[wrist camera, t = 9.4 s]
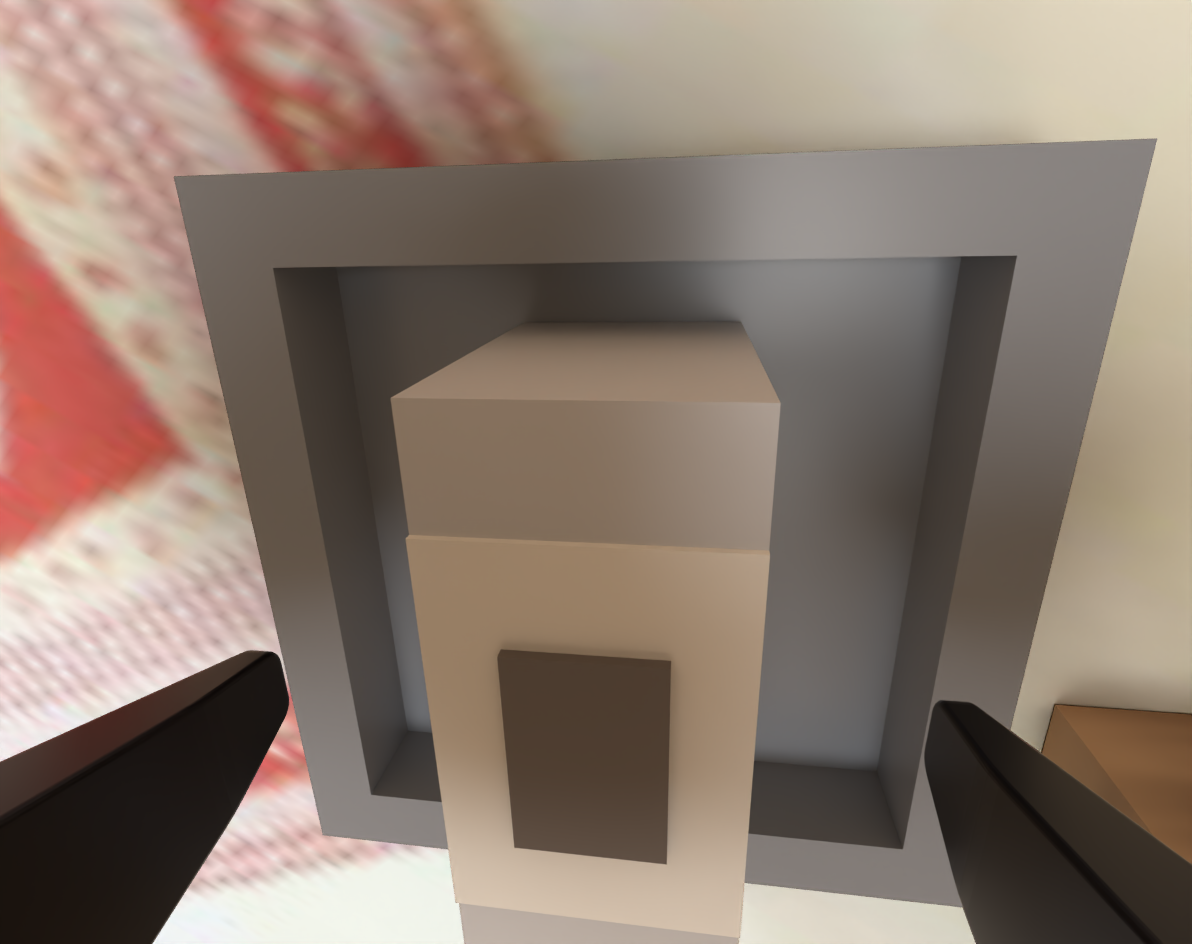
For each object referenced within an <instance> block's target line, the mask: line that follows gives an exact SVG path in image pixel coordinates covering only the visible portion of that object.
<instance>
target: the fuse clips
mask: <svg viewBox="0 0 1192 944" xmlns="http://www.w3.org/2000/svg"><path fill="white" fill-rule="evenodd" d="M1042 754H1043V755H1044V756H1046V757H1047V758H1048V759H1050V760H1051V761H1053V762H1054V763H1055V764H1057V765H1058V766H1059V767H1061V768H1062V769H1063V770H1065V771H1066V772H1068V773H1069V774H1070V775H1072V776H1073V777H1074V778H1076V779H1077V780H1078V781H1080V782H1081V783H1082V784H1084V785H1085V786H1087V787H1088V788H1089V789H1091V790H1092V791H1093V792H1095V793H1096V794H1097V795H1099V796H1100V797H1102V798H1103V799H1104V800H1106V801H1107V802H1108V803H1110V804H1111V805H1112V806H1114V807H1115V808H1116V809H1118V810H1119V811H1121V812H1122V813H1123V814H1125V815H1126V816H1127V817H1129V818H1130V819H1131V820H1133V821H1134V822H1136V823H1137V824H1138V825H1140V826H1141V827H1142V828H1144V829H1145V830H1146V831H1148V832H1149V833H1150V834H1152V835H1153V836H1155V837H1156V838H1157V839H1159V840H1160V841H1161V842H1163V843H1164V844H1165V845H1167V846H1168V847H1170V848H1171V849H1172V850H1174V851H1175V852H1176V853H1178V854H1179V855H1180V856H1182V857H1183V858H1184V859H1186V860H1187V861H1189V862H1190V863H1191V864H1192V715H1191V714H1177V713H1163V712H1149V711H1135V710H1121V709H1107V708H1093V707H1079V706H1065V705H1055V707H1054V711H1053V714H1052V718H1051V722H1050V725H1049V729H1048V733H1047V736H1046V740H1045V744H1044V747H1043V751H1042Z"/></svg>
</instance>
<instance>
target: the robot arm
mask: <svg viewBox="0 0 1192 944" xmlns="http://www.w3.org/2000/svg"><path fill="white" fill-rule="evenodd" d="M288 706H289V696H288V691H287V687H286V682H285V678H284V674H283V669H282V665H281V661H280V658H279V657H278V655H277V654H275V653H273V652H268V651H254V650H250V651H245V652H243V653H240V654H238V655H236V656H234V657H231V658H229V659H227V660H225V661H223V662H220V663H218V664H216V665H214V666H212V667H209V668H207V669H205V670H203V671H200V672H198V673H196V674H194V675H192V676H189V677H187V678H185V679H183V680H181V681H178V682H176V683H174V684H172V685H169V686H167V687H165V688H163V689H161V690H158V691H156V692H154V693H152V694H150V695H147V696H145V697H143V698H141V699H138V700H136V701H134V702H132V703H130V704H127V705H125V706H123V707H121V708H119V709H116V710H114V711H112V712H110V713H107V714H105V715H103V716H101V717H99V718H96V719H94V720H92V721H90V722H88V723H85V724H83V725H81V726H79V727H76V728H74V729H72V730H70V731H68V732H65V733H63V734H61V735H59V736H57V737H54V738H52V739H50V740H48V741H45V742H43V743H41V744H39V745H37V746H34V747H32V748H30V749H28V750H26V751H23V752H21V753H19V754H17V755H14V756H12V757H10V758H8V759H6V760H3V761H1V762H0V944H153V942H154V940H155V939H156V937H157V936H158V934H159V933H160V931H161V929H162V928H163V926H164V925H165V923H166V922H167V920H168V918H169V917H170V915H171V914H172V912H173V911H174V909H175V907H176V906H177V904H178V903H179V901H180V900H181V898H182V897H183V895H184V893H185V892H186V890H187V889H188V887H189V886H190V884H191V882H192V881H193V879H194V878H195V876H196V875H197V873H198V871H199V870H200V868H201V867H202V865H203V864H204V862H205V860H206V859H207V857H208V856H209V854H210V853H211V851H212V850H213V848H214V846H215V845H216V843H217V842H218V840H219V839H220V837H221V835H222V834H223V832H224V831H225V829H226V827H227V826H228V824H229V822H230V821H231V819H232V817H233V816H234V814H235V812H236V810H237V809H238V807H239V805H240V803H241V801H242V800H243V798H244V796H245V794H246V792H247V790H248V788H249V786H250V784H251V782H252V780H253V778H254V777H255V775H256V773H257V771H258V769H259V767H260V765H261V763H262V761H263V759H264V757H265V755H266V753H267V751H268V749H269V748H270V746H271V744H272V742H273V740H274V738H275V736H276V734H277V732H278V730H279V728H280V726H281V724H282V722H283V721H284V719H285V716H286V714H287V711H288ZM924 763H925V770H926V774H927V778H928V782H929V786H930V790H931V793H932V797H933V801H934V805H935V809H936V813H937V817H938V820H939V824H940V828H941V832H942V836H943V840H944V844H945V847H946V851H947V855H948V859H949V863H950V867H951V871H952V874H953V878H954V881H955V885H956V888H957V892H958V895H959V898H960V901H961V904H962V907H963V910H964V913H965V915H966V918H967V921H968V924H969V926H970V929H971V932H972V934H973V937H974V940H975V942H976V944H1192V864H1191V863H1190V862H1189V861H1187V860H1186V859H1184V858H1183V857H1182V856H1180V855H1179V854H1178V853H1176V852H1175V851H1174V850H1172V849H1171V848H1170V847H1168V846H1167V845H1165V844H1164V843H1163V842H1161V841H1160V840H1159V839H1157V838H1156V837H1155V836H1153V835H1152V834H1150V833H1149V832H1148V831H1146V830H1145V829H1144V828H1142V827H1141V826H1140V825H1138V824H1137V823H1136V822H1134V821H1133V820H1131V819H1130V818H1129V817H1127V816H1126V815H1125V814H1123V813H1122V812H1121V811H1119V810H1118V809H1116V808H1115V807H1114V806H1112V805H1111V804H1110V803H1108V802H1107V801H1106V800H1104V799H1103V798H1102V797H1100V796H1099V795H1097V794H1096V793H1095V792H1093V791H1092V790H1091V789H1089V788H1088V787H1087V786H1085V785H1084V784H1082V783H1081V782H1080V781H1078V780H1077V779H1076V778H1074V777H1073V776H1072V775H1070V774H1069V773H1068V772H1066V771H1065V770H1063V769H1062V768H1061V767H1059V766H1058V765H1057V764H1055V763H1054V762H1053V761H1051V760H1050V759H1048V758H1047V757H1046V756H1044V755H1043V754H1042V753H1040V752H1039V751H1038V750H1036V749H1035V748H1034V747H1032V746H1031V745H1029V744H1028V743H1027V742H1025V741H1024V740H1023V739H1021V738H1020V737H1019V736H1017V735H1016V734H1015V733H1013V732H1012V731H1010V730H1009V729H1008V728H1006V727H1005V726H1004V725H1002V724H1001V723H1000V722H998V721H997V720H995V719H994V718H993V717H991V716H990V715H989V714H987V713H986V712H985V711H983V710H982V709H981V708H979V707H978V706H976V705H975V704H973V703H970V702H963V701H949V700H940V701H938V702H936V703H935V705H934V707H933V710H932V714H931V719H930V725H929V730H928V735H927V740H926V745H925V751H924Z"/></svg>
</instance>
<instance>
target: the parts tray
mask: <svg viewBox="0 0 1192 944" xmlns="http://www.w3.org/2000/svg"><path fill="white" fill-rule="evenodd" d="M1156 141H1157V139H1133V140H1107V141H1081V142H1055V143H1029V144H1003V145H977V146H951V147H925V148H899V149H873V150H847V151H822V152H796V153H770V154H744V155H718V156H692V157H666V158H640V159H614V160H588V161H562V162H536V163H510V164H484V165H459V166H433V167H407V168H381V169H355V170H329V171H303V172H277V173H251V174H225V175H199V176H174V180H175V184H176V188H177V193H178V197H179V202H180V206H181V211H182V215H183V219H184V224H185V228H186V233H187V237H188V241H189V246H190V250H191V255H192V259H193V264H194V268H195V272H196V277H197V281H198V286H199V290H200V294H201V299H202V303H203V308H204V312H205V316H206V321H207V325H208V330H209V334H210V339H211V343H212V347H213V352H214V356H215V361H216V365H217V369H218V374H219V378H220V383H221V387H222V392H223V396H224V400H225V405H226V409H227V414H228V418H229V422H230V427H231V431H232V436H233V440H234V445H235V449H236V453H237V458H238V462H239V467H240V471H241V475H242V480H243V484H244V489H245V493H246V498H247V502H248V506H249V511H250V515H251V520H252V524H253V528H254V533H255V537H256V542H257V546H258V550H259V555H260V559H261V564H262V568H263V573H264V577H265V581H266V586H267V590H268V595H269V599H270V603H271V608H272V612H273V617H274V621H275V626H276V630H277V634H278V639H279V643H280V648H281V652H282V656H283V661H284V665H285V670H286V674H287V679H288V683H289V687H290V692H291V696H292V701H293V705H294V709H295V714H296V718H297V723H298V727H299V732H300V736H301V740H302V745H303V749H304V754H305V758H306V762H307V767H308V771H309V776H310V780H311V784H312V789H313V793H314V798H315V802H316V807H317V811H318V815H319V820H320V824H321V829H322V833H323V835H326V836H335V837H344V838H353V839H361V840H370V841H379V842H388V843H397V844H406V845H415V846H424V847H432V848H441V849H448V843H447V836H446V829H445V821H444V814H443V807H442V800H441V792H440V785H439V778H438V771H437V763H436V756H435V749H434V742H433V734H432V727H431V720H430V713H429V705H428V698H427V691H426V684H425V677H424V669H423V662H422V655H421V648H420V640H419V633H418V626H417V619H416V611H415V604H414V597H413V590H412V582H411V575H410V568H409V561H408V553H407V546H406V538H407V537H408V536H409V531H408V523H407V516H406V509H405V501H404V494H403V486H402V479H401V472H400V464H399V457H398V450H397V442H396V435H395V427H394V420H393V413H392V405H391V397H393V396H395V395H397V394H398V393H400V392H402V391H404V390H405V389H407V388H409V387H411V386H413V385H414V384H416V383H418V382H420V381H421V380H423V379H425V378H427V377H428V376H430V375H432V374H434V373H436V372H437V371H439V370H441V369H443V368H444V367H446V366H448V365H450V364H451V363H453V362H455V361H457V360H459V359H460V358H462V357H464V356H466V355H467V354H469V353H471V352H473V351H474V350H476V349H478V348H480V347H481V346H483V345H485V344H487V343H489V342H490V341H492V340H494V339H496V338H497V337H499V336H501V335H503V334H504V333H506V332H508V331H510V330H512V329H513V328H515V327H517V326H519V325H520V324H522V323H550V322H742V324H743V326H744V328H745V331H746V333H747V335H748V337H749V339H750V341H751V343H752V345H753V347H754V349H755V351H756V353H757V355H758V357H759V359H760V361H761V364H762V366H763V368H764V370H765V372H766V374H767V376H768V378H769V380H770V382H771V384H772V386H773V388H774V390H775V392H776V394H777V396H778V399H779V401H780V403H781V405H780V417H779V430H778V443H777V456H776V469H775V482H774V494H773V507H772V520H771V533H770V546H769V552H770V563H769V576H768V589H767V601H766V614H765V627H764V639H763V652H762V665H761V677H760V690H759V703H758V716H757V728H756V741H755V754H754V766H753V779H752V792H751V804H750V817H749V830H748V843H747V855H746V868H745V881H744V883H751V884H760V885H769V886H778V887H787V888H796V889H804V890H813V891H822V892H831V893H840V894H849V895H858V896H866V897H875V898H884V899H893V900H902V901H911V902H920V903H929V904H937V905H946V906H955V907H962V904H961V901H960V898H959V895H958V892H957V888H956V885H955V881H954V878H953V874H952V871H951V867H950V863H949V859H948V855H947V851H946V847H945V844H944V840H943V836H942V832H941V828H940V824H939V820H938V817H937V813H936V809H935V805H934V801H933V797H932V793H931V790H930V786H929V782H928V778H927V774H926V770H925V763H924V751H925V745H926V740H927V735H928V730H929V725H930V719H931V714H932V710H933V707H934V705H935V703H936V702H938V701H940V700H949V701H963V702H970V703H973V704H975V705H976V706H978V707H979V708H981V709H982V710H983V711H985V712H986V713H987V714H989V715H990V716H991V717H993V718H994V719H995V720H997V721H998V722H1000V723H1001V724H1002V725H1004V726H1005V727H1006V728H1008V729H1009V730H1010V729H1011V725H1012V721H1013V716H1014V712H1015V708H1016V704H1017V700H1018V696H1019V692H1020V688H1021V684H1022V680H1023V676H1024V672H1025V668H1026V664H1027V660H1028V656H1029V652H1030V648H1031V644H1032V640H1033V636H1034V632H1035V628H1036V624H1037V620H1038V616H1039V612H1040V608H1041V604H1042V600H1043V596H1044V592H1045V588H1046V584H1047V580H1048V576H1049V572H1050V568H1051V564H1052V560H1053V556H1054V552H1055V548H1056V544H1057V540H1058V536H1059V532H1060V527H1061V523H1062V519H1063V515H1064V511H1065V507H1066V503H1067V499H1068V495H1069V491H1070V487H1071V483H1072V479H1073V475H1074V471H1075V467H1076V463H1077V459H1078V455H1079V451H1080V447H1081V443H1082V439H1083V435H1084V431H1085V427H1086V423H1087V419H1088V415H1089V411H1090V407H1091V403H1092V399H1093V395H1094V391H1095V387H1096V383H1097V379H1098V375H1099V371H1100V367H1101V363H1102V359H1103V355H1104V351H1105V347H1106V342H1107V338H1108V334H1109V330H1110V326H1111V322H1112V318H1113V314H1114V310H1115V306H1116V302H1117V298H1118V294H1119V290H1120V286H1121V282H1122V278H1123V274H1124V270H1125V266H1126V262H1127V258H1128V254H1129V250H1130V246H1131V242H1132V238H1133V234H1134V230H1135V226H1136V222H1137V218H1138V214H1139V210H1140V206H1141V202H1142V198H1143V194H1144V190H1145V186H1146V182H1147V178H1148V174H1149V170H1150V166H1151V162H1152V158H1153V153H1154V149H1155V145H1156Z"/></svg>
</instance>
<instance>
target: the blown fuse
mask: <svg viewBox="0 0 1192 944" xmlns="http://www.w3.org/2000/svg"><path fill="white" fill-rule="evenodd" d="M391 405H392V413H393V420H394V427H395V435H396V442H397V450H398V457H399V464H400V472H401V479H402V486H403V494H404V501H405V509H406V516H407V523H408V531H409V536H408V537H407V538H406V546H407V553H408V561H409V568H410V575H411V582H412V590H413V597H414V604H415V611H416V619H417V626H418V633H419V640H420V648H421V655H422V662H423V669H424V677H425V684H426V691H427V698H428V705H429V713H430V720H431V727H432V734H433V742H434V749H435V756H436V763H437V771H438V778H439V785H440V792H441V800H442V807H443V814H444V821H445V829H446V836H447V843H448V850H449V858H450V865H451V872H452V879H453V887H454V894H455V901H456V903H459V907H460V914H461V921H462V929H463V936H464V943H465V944H739V938H740V931H741V919H742V906H743V893H744V881H745V868H746V855H747V843H748V830H749V817H750V804H751V792H752V779H753V766H754V754H755V741H756V728H757V716H758V703H759V690H760V677H761V665H762V652H763V639H764V627H765V614H766V601H767V589H768V576H769V563H770V552H769V546H770V533H771V520H772V507H773V494H774V482H775V469H776V456H777V443H778V430H779V417H780V405H781V403H780V401H779V399H778V396H777V394H776V392H775V390H774V388H773V386H772V384H771V382H770V380H769V378H768V376H767V374H766V372H765V370H764V368H763V366H762V364H761V361H760V359H759V357H758V355H757V353H756V351H755V349H754V347H753V345H752V343H751V341H750V339H749V337H748V335H747V333H746V331H745V328H744V326H743V324H742V322H550V323H522V324H520V325H519V326H517V327H515V328H513V329H512V330H510V331H508V332H506V333H504V334H503V335H501V336H499V337H497V338H496V339H494V340H492V341H490V342H489V343H487V344H485V345H483V346H481V347H480V348H478V349H476V350H474V351H473V352H471V353H469V354H467V355H466V356H464V357H462V358H460V359H459V360H457V361H455V362H453V363H451V364H450V365H448V366H446V367H444V368H443V369H441V370H439V371H437V372H436V373H434V374H432V375H430V376H428V377H427V378H425V379H423V380H421V381H420V382H418V383H416V384H414V385H413V386H411V387H409V388H407V389H405V390H404V391H402V392H400V393H398V394H397V395H395V396H393V397H391Z"/></svg>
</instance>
